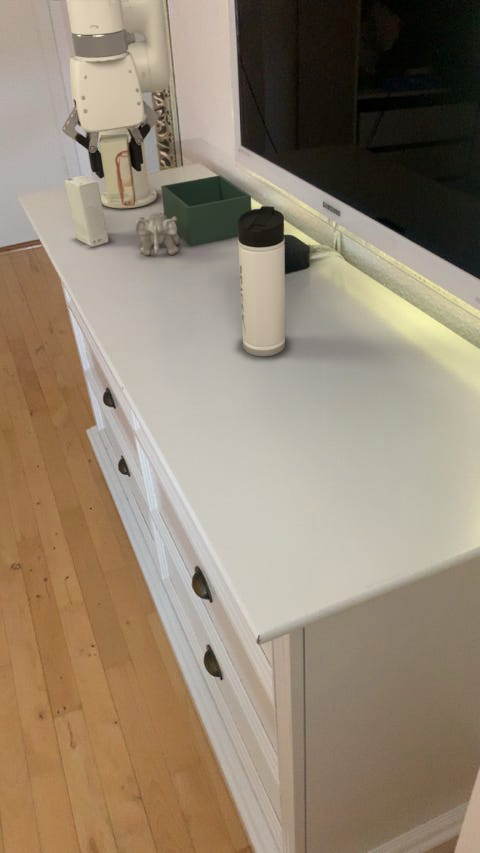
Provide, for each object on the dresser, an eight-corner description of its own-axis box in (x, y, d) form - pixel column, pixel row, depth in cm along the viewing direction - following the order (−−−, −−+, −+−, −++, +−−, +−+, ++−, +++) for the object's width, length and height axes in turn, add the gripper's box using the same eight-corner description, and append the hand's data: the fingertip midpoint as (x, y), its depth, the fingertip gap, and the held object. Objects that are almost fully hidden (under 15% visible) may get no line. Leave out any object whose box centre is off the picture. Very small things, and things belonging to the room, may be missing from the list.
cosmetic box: (110, 242, 140) (100, 180, 132) (90, 248, 138) (79, 186, 130) (94, 233, 144) (84, 173, 136) (75, 239, 141) (63, 179, 134)
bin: (164, 221, 148) (161, 185, 143) (222, 210, 152) (220, 175, 147) (191, 246, 136) (187, 208, 132) (252, 233, 140) (251, 195, 136)
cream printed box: (135, 206, 113) (126, 141, 107) (108, 208, 113) (97, 143, 107) (136, 195, 117) (128, 132, 111) (110, 197, 117) (100, 134, 111)
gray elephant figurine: (176, 240, 139) (172, 201, 134) (195, 262, 130) (192, 221, 125) (131, 248, 137) (125, 209, 132) (147, 271, 128) (142, 231, 123)
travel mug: (290, 337, 106) (290, 207, 94) (278, 359, 101) (276, 225, 89) (251, 332, 108) (246, 203, 96) (237, 354, 103) (230, 221, 91)
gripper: (148, 35, 106) (161, 157, 117) (35, 48, 101) (60, 175, 112) (164, 42, 101) (176, 170, 112) (46, 56, 96) (71, 189, 107)
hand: (118, 171), depth 112 cm, fingers closed on cream printed box, 5 cm apart
